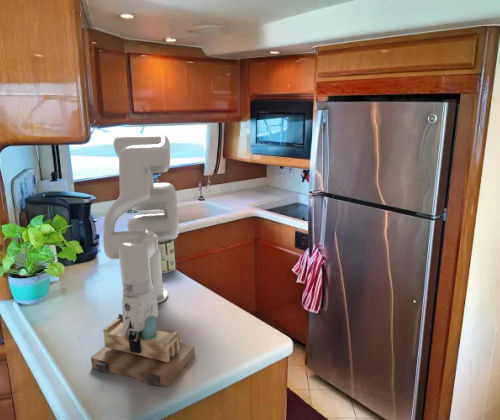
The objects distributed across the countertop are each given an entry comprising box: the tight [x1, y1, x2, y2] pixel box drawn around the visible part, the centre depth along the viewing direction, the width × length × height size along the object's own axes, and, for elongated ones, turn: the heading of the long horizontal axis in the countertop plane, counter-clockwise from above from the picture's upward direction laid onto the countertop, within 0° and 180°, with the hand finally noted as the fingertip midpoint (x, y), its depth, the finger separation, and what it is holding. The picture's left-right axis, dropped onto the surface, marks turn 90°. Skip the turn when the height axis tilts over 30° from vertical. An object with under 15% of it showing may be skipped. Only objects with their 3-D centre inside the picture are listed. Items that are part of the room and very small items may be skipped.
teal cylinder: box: [141, 316, 157, 340], centre depth 110 cm, size 4×4×5 cm
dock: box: [90, 342, 196, 388], centre depth 113 cm, size 24×15×3 cm, turn 70°
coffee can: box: [158, 239, 176, 274], centre depth 174 cm, size 10×10×14 cm
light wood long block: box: [102, 318, 180, 362], centre depth 112 cm, size 20×6×6 cm, turn 70°
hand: (143, 344), depth 112 cm, fingers closed on light wood long block, 6 cm apart
